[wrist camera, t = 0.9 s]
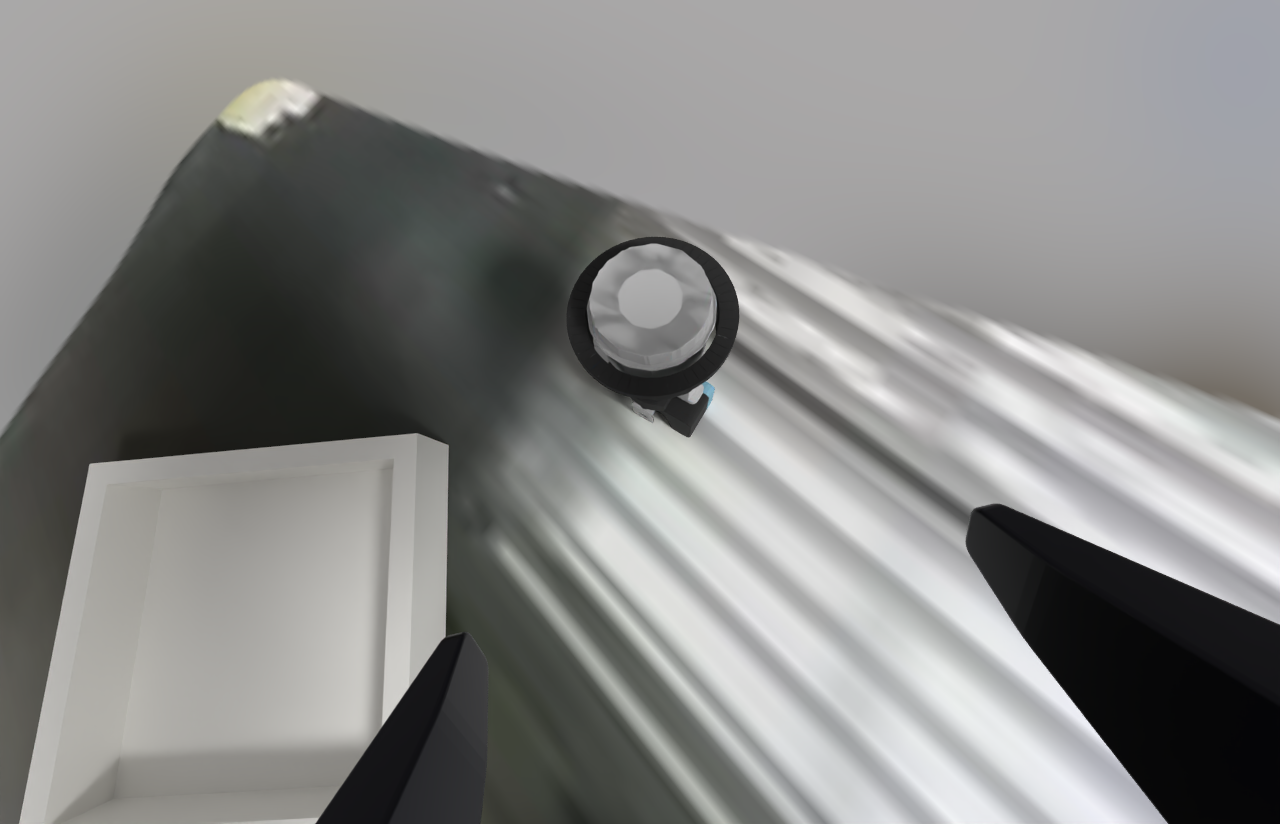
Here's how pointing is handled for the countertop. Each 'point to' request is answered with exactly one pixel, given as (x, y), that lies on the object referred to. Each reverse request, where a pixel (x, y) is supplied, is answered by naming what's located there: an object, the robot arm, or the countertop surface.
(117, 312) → the countertop surface
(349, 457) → the tray
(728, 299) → the push button
